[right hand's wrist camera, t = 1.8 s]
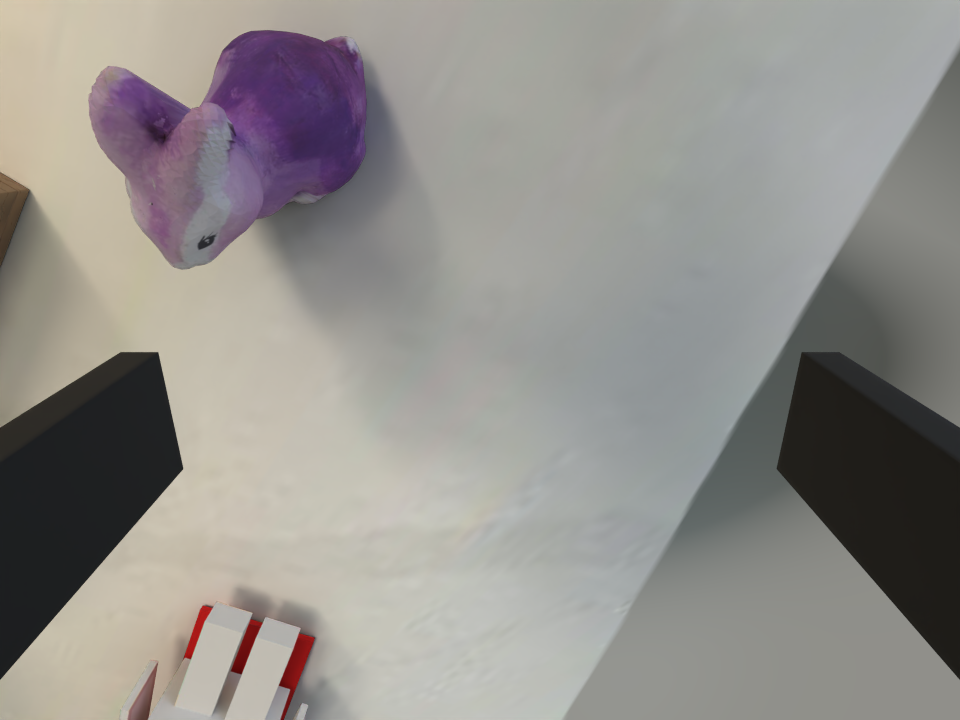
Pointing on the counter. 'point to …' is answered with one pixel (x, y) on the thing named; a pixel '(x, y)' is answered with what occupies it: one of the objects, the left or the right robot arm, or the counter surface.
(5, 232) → the cabinet
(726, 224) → the counter surface
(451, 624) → the counter surface
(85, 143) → the counter surface
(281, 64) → the figurine
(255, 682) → the toy
